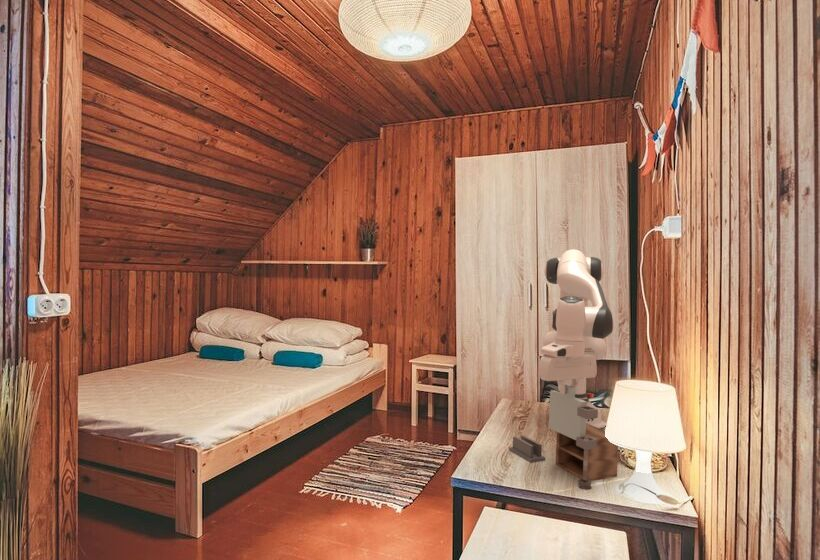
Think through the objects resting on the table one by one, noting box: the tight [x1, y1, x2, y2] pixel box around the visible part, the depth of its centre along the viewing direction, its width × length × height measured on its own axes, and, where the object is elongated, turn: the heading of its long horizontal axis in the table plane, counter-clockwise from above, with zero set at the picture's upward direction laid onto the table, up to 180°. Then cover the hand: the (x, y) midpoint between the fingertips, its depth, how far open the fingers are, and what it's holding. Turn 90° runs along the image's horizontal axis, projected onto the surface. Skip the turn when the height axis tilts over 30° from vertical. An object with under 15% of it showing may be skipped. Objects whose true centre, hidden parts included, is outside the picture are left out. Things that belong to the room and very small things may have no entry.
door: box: [548, 385, 599, 450], centre depth 150 cm, size 4×18×16 cm, turn 24°
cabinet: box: [555, 423, 619, 490], centre depth 153 cm, size 16×17×15 cm
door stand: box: [508, 434, 546, 464], centre depth 167 cm, size 6×12×6 cm, turn 24°
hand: (567, 393), depth 152 cm, fingers closed on door, 2 cm apart
